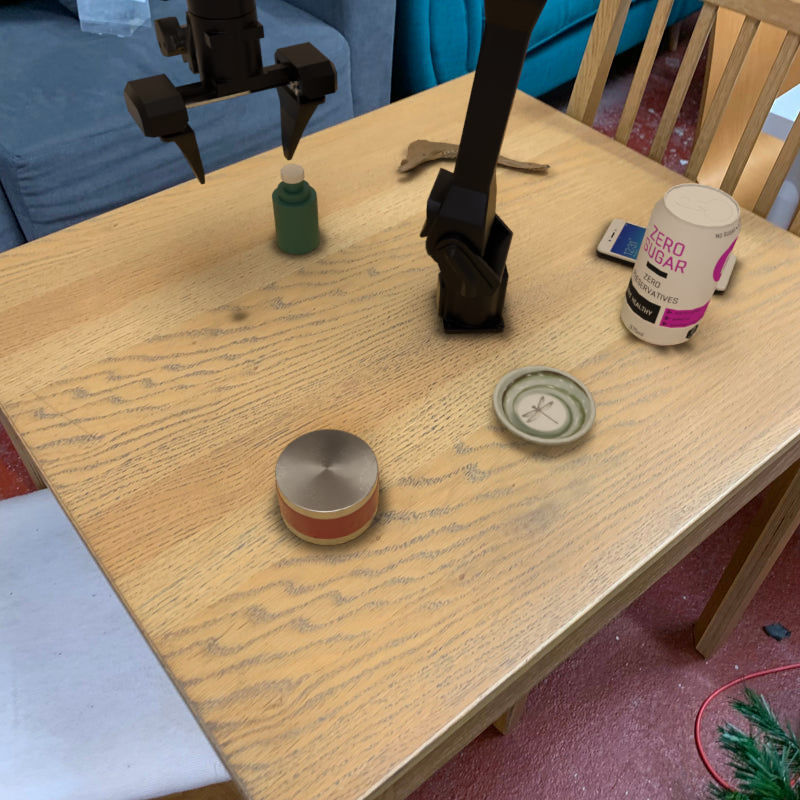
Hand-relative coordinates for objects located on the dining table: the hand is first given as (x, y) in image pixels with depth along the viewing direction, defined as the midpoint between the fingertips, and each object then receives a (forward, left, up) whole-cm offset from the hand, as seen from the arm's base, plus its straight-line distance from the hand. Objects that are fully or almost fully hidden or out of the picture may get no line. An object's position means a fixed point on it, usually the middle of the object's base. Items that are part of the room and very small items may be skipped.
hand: (245, 170), depth 76 cm
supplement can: (-43, +9, -13) cm, 46 cm away
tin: (-8, +31, -13) cm, 35 cm away
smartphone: (-47, -2, -13) cm, 49 cm away
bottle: (-4, -6, -13) cm, 15 cm away
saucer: (-28, +22, -13) cm, 38 cm away
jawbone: (-26, -20, -13) cm, 35 cm away
